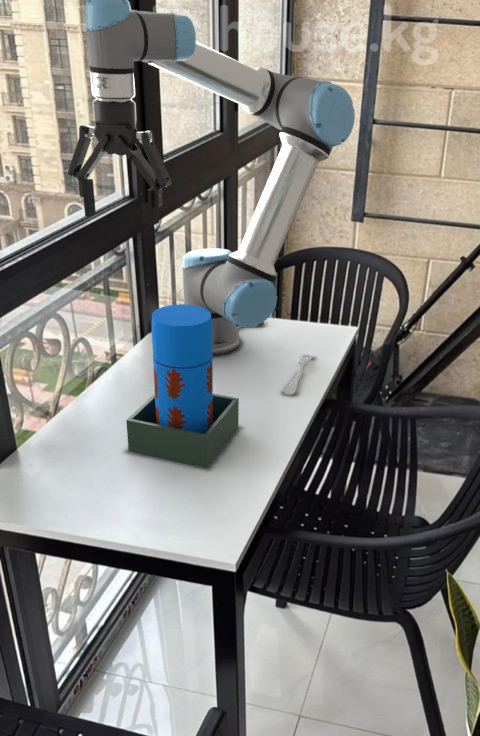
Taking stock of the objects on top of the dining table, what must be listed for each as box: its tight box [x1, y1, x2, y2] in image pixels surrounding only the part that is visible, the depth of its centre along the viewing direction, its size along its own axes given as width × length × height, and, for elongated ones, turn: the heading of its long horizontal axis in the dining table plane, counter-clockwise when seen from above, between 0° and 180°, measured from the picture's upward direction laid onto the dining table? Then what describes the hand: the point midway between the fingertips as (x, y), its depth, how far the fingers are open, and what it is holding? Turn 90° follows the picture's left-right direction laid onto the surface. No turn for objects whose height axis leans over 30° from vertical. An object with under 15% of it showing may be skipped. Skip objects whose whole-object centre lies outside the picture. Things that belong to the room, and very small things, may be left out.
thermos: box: [151, 303, 214, 434], centre depth 141 cm, size 11×11×25 cm
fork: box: [283, 355, 314, 396], centre depth 175 cm, size 3×21×3 cm, turn 166°
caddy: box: [125, 392, 240, 469], centre depth 146 cm, size 16×16×7 cm
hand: (122, 219), depth 145 cm, fingers open, 13 cm apart
